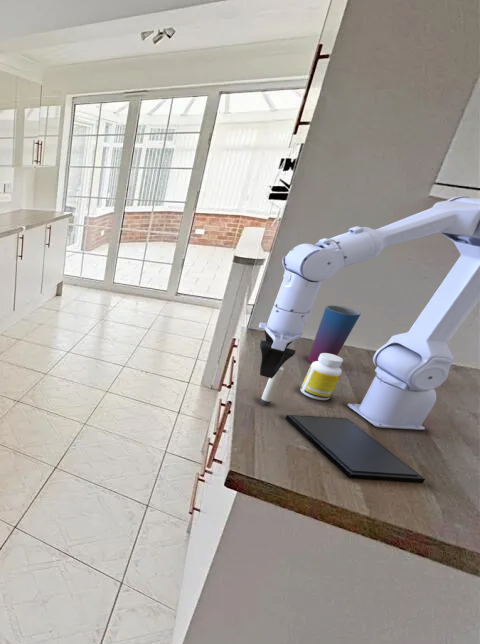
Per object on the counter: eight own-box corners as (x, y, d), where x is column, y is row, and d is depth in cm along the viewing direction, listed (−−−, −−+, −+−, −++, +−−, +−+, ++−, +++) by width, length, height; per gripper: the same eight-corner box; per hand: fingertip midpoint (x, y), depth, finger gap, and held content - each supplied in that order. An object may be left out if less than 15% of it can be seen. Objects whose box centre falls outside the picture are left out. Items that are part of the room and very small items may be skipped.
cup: (297, 356, 111) (319, 305, 105) (319, 356, 112) (342, 304, 106) (319, 368, 105) (343, 315, 99) (342, 368, 106) (368, 314, 100)
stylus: (266, 401, 91) (280, 365, 87) (271, 405, 89) (286, 369, 85) (257, 400, 91) (271, 365, 87) (262, 405, 89) (277, 369, 85)
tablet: (345, 422, 84) (347, 417, 84) (422, 483, 69) (426, 478, 69) (285, 418, 85) (287, 413, 84) (349, 478, 70) (352, 473, 69)
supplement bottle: (334, 402, 91) (353, 364, 87) (307, 399, 92) (324, 361, 88) (320, 389, 96) (337, 352, 92) (294, 386, 97) (310, 349, 93)
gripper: (270, 294, 86) (249, 351, 92) (263, 312, 76) (240, 376, 82) (311, 302, 82) (287, 361, 88) (310, 323, 72) (283, 388, 78)
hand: (267, 369), depth 85 cm, fingers open, 7 cm apart
